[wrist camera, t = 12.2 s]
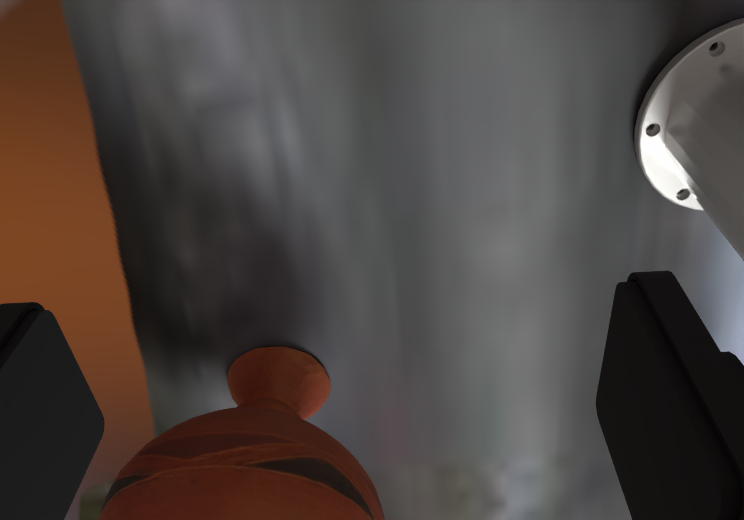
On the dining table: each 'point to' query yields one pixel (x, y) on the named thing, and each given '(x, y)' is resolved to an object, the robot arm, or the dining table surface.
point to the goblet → (250, 455)
